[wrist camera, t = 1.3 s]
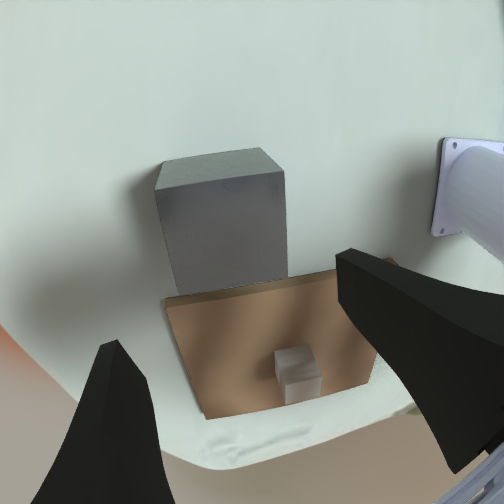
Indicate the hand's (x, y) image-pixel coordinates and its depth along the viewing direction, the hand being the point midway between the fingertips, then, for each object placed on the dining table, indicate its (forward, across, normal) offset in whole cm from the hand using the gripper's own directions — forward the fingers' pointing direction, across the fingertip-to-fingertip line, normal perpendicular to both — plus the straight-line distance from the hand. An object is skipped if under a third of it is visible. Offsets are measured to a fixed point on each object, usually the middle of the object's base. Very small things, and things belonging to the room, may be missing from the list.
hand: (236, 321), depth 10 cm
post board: (+9, -4, +15) cm, 18 cm away
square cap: (+10, -2, 0) cm, 10 cm away
